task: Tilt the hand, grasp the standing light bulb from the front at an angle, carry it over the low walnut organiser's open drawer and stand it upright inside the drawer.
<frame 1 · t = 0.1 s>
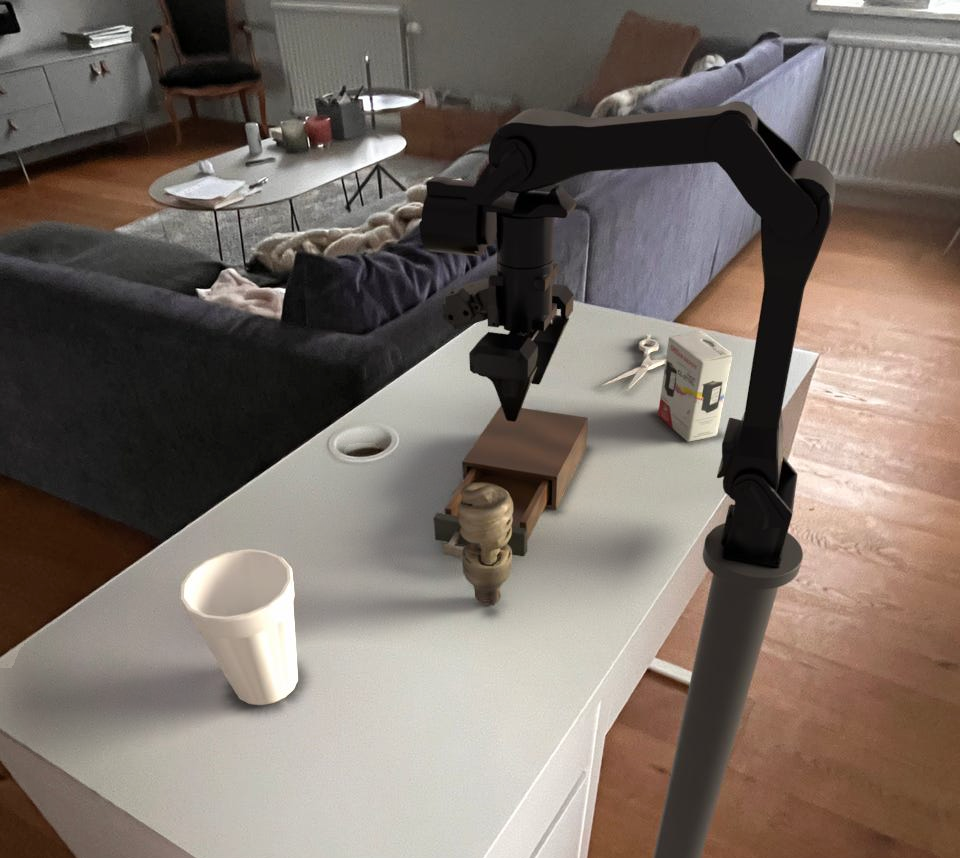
hand: (523, 401, 94), 14 cm above the table, tool pointing down, fingers open, 9 cm apart
ink box: (686, 426, 116), on the table
cabinet: (527, 471, 109), on the table
scissors: (645, 368, 129), on the table
light bulb: (488, 606, 89), on the table
drawer: (493, 512, 98), point 2 cm above the table, slide at 10.0 cm
cup: (267, 685, 82), on the table
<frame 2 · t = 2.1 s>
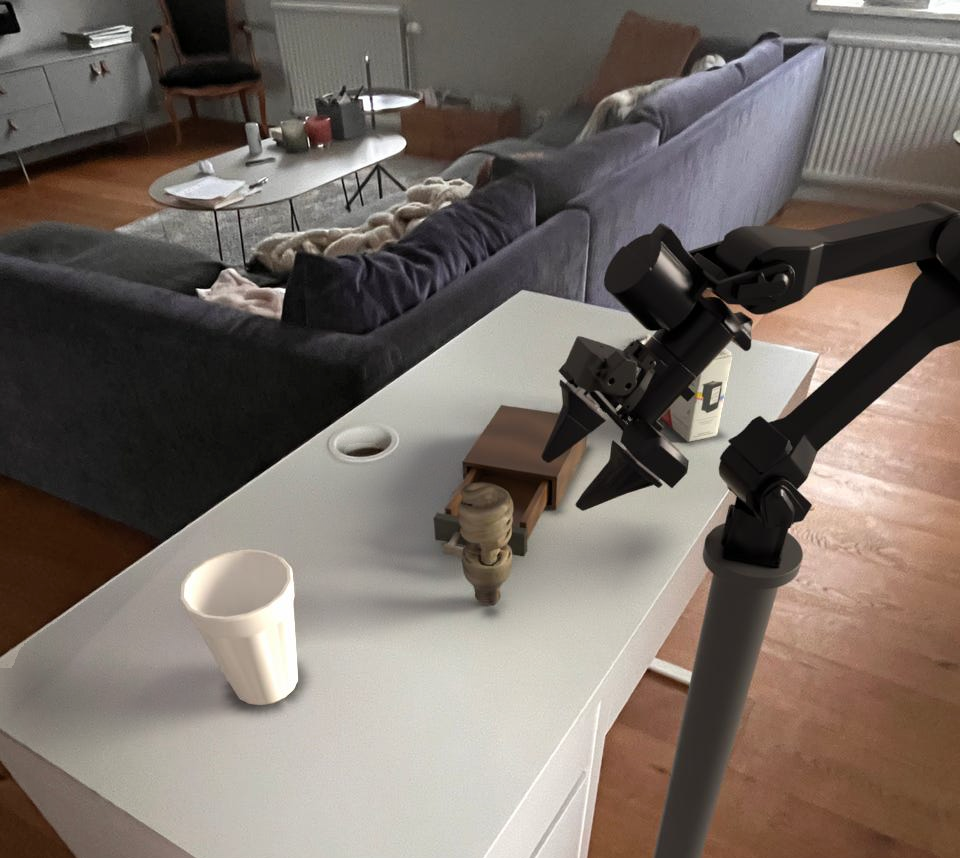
hand: (560, 483, 82), 13 cm above the table, tool tilted 45°, fingers open, 9 cm apart
nothing on the table moved.
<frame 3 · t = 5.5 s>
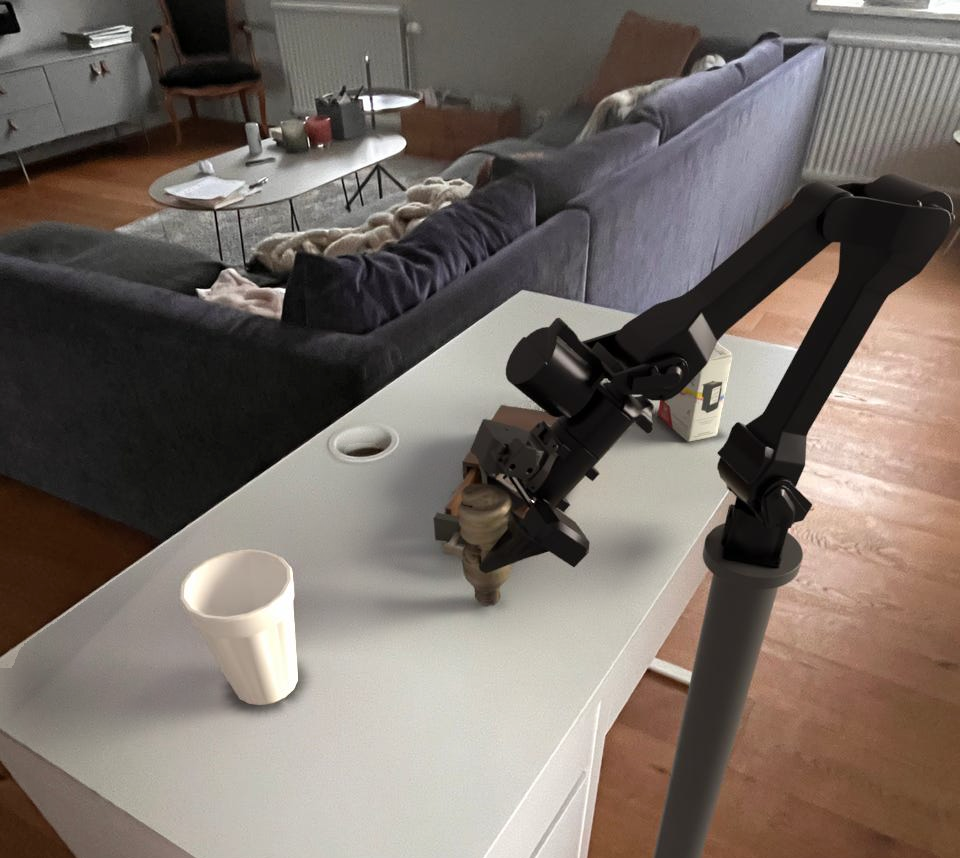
hand: (473, 555, 84), 7 cm above the table, tool tilted 45°, fingers closed on light bulb, 5 cm apart
light bulb: (488, 606, 89), on the table, touching gripper
everything else where it was.
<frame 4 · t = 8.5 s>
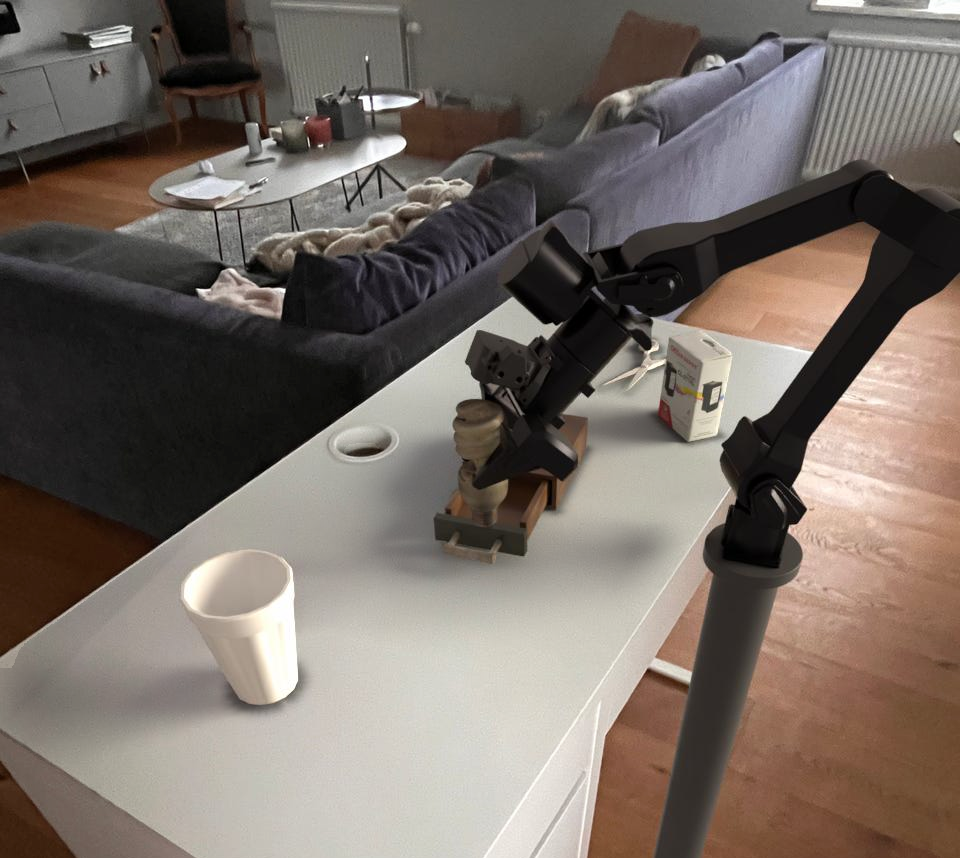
hand: (469, 473, 84), 13 cm above the table, tool tilted 45°, fingers closed on light bulb, 5 cm apart
light bulb: (485, 529, 89), point 6 cm above the table, touching gripper
everything else where it was.
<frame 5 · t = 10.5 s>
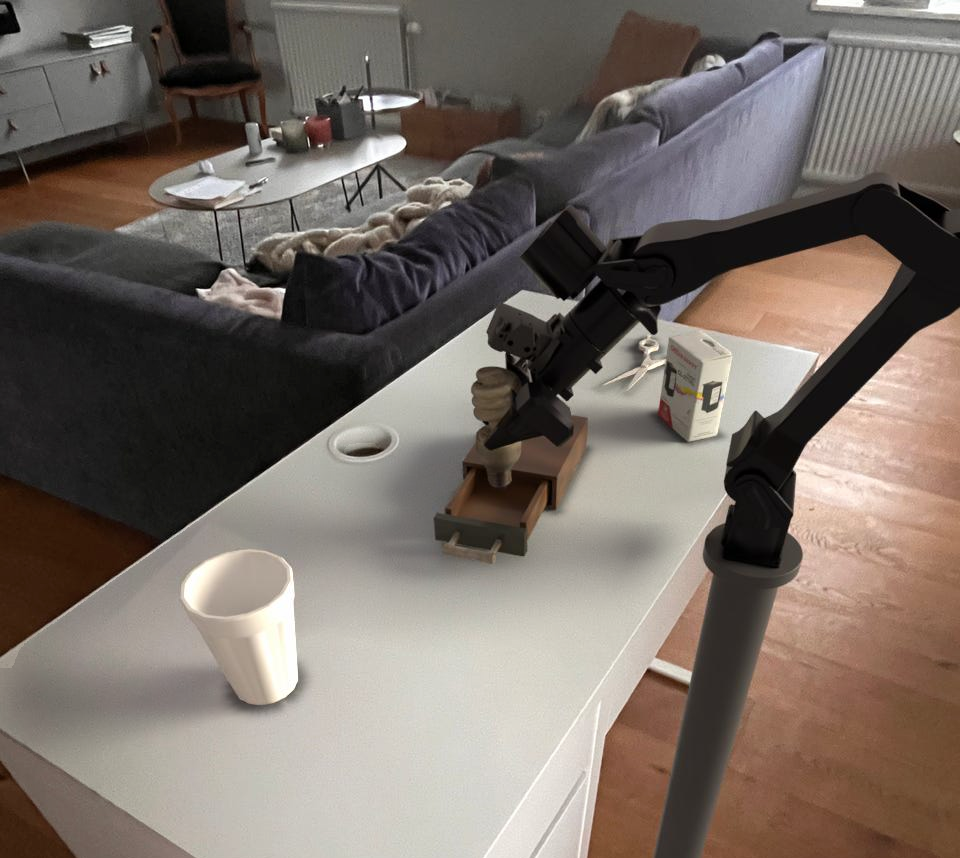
hand: (485, 435, 92), 12 cm above the table, tool tilted 45°, fingers closed on light bulb, 5 cm apart
light bulb: (499, 490, 97), point 5 cm above the table, touching gripper
everything else where it was.
when the fingers open (9 cm above the table, at t = 11.8 s): light bulb stays where it is, resting on drawer.
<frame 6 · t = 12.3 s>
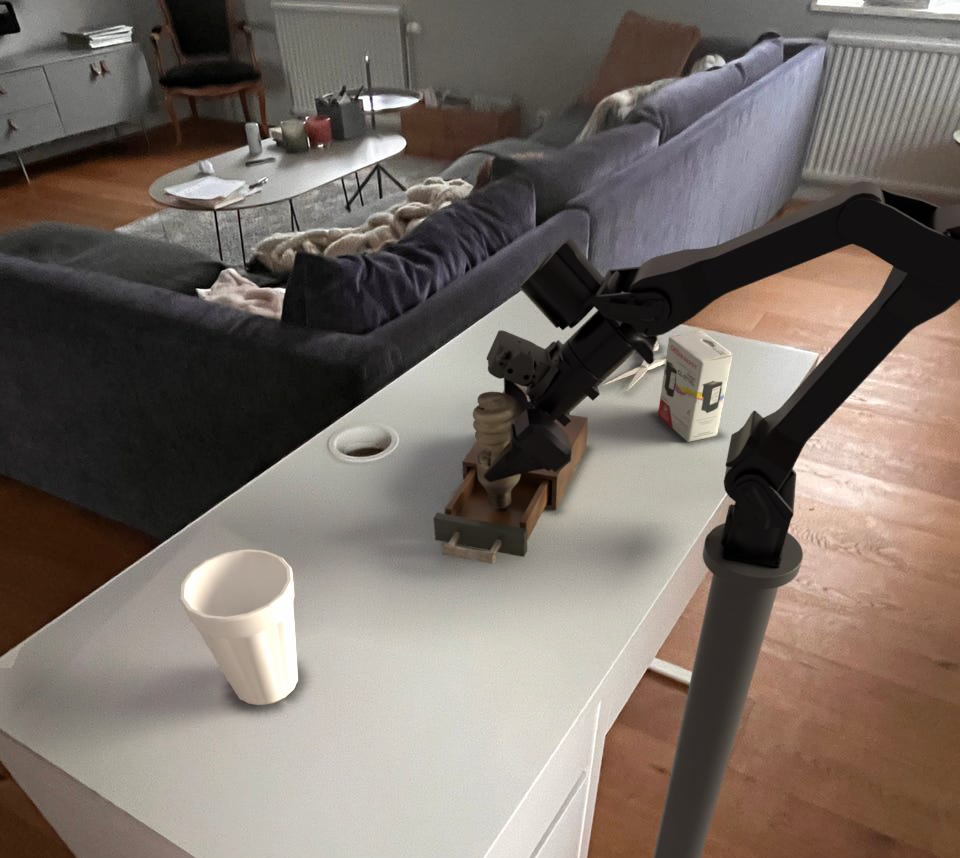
hand: (484, 457, 94), 9 cm above the table, tool tilted 45°, fingers open, 9 cm apart
light bulb: (499, 511, 99), point 2 cm above the table, touching drawer
drawer: (493, 512, 98), point 2 cm above the table, slide at 10.0 cm, touching light bulb
everything else where it was.
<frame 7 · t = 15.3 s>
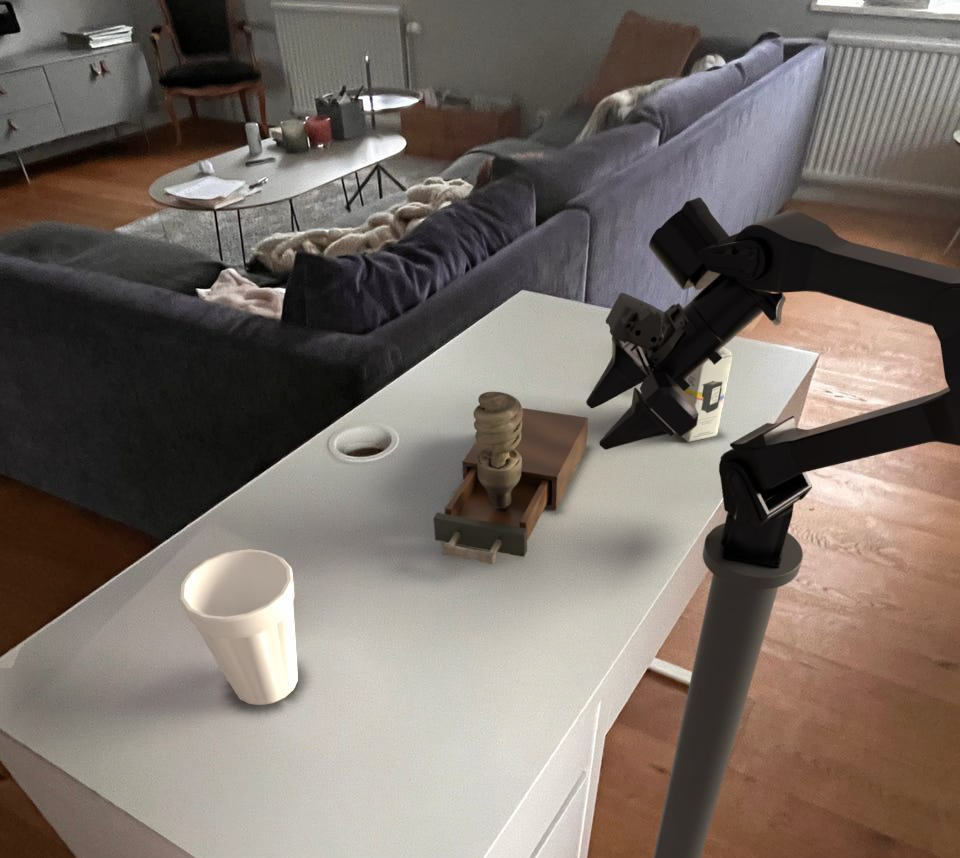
hand: (594, 425, 92), 12 cm above the table, tool tilted 45°, fingers open, 9 cm apart
nothing on the table moved.
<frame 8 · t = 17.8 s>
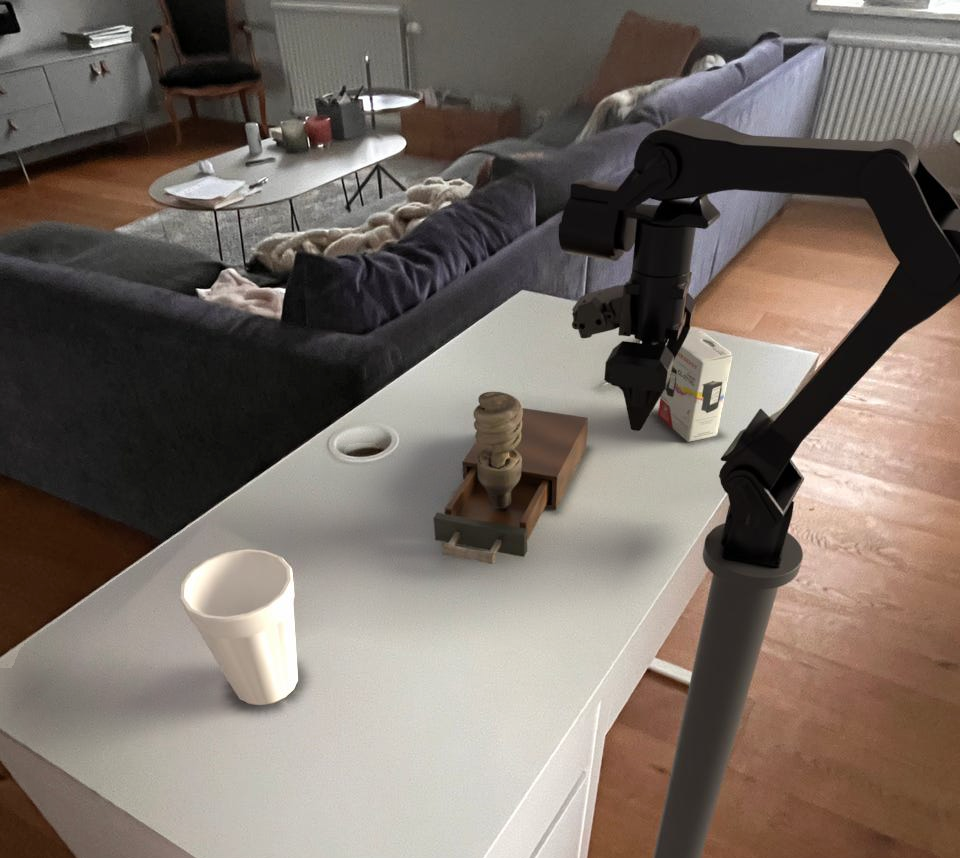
hand: (644, 410, 93), 13 cm above the table, tool pointing down, fingers open, 9 cm apart
nothing on the table moved.
at the end: light bulb inside the target area in the drawer (0.4 cm from its centre), point 1.6 cm above the cabinet's base; light bulb tilted 0°; the gripper is holding nothing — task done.
